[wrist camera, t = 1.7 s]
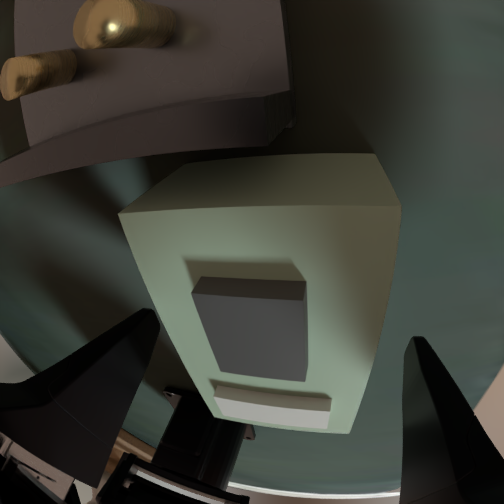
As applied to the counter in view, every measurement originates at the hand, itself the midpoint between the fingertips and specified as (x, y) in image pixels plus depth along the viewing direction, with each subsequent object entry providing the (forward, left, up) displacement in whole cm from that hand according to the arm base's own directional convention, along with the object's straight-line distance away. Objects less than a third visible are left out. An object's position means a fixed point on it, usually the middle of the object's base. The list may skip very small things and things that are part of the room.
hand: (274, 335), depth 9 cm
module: (0, 0, -3) cm, 3 cm away
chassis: (+13, +5, -2) cm, 14 cm away
